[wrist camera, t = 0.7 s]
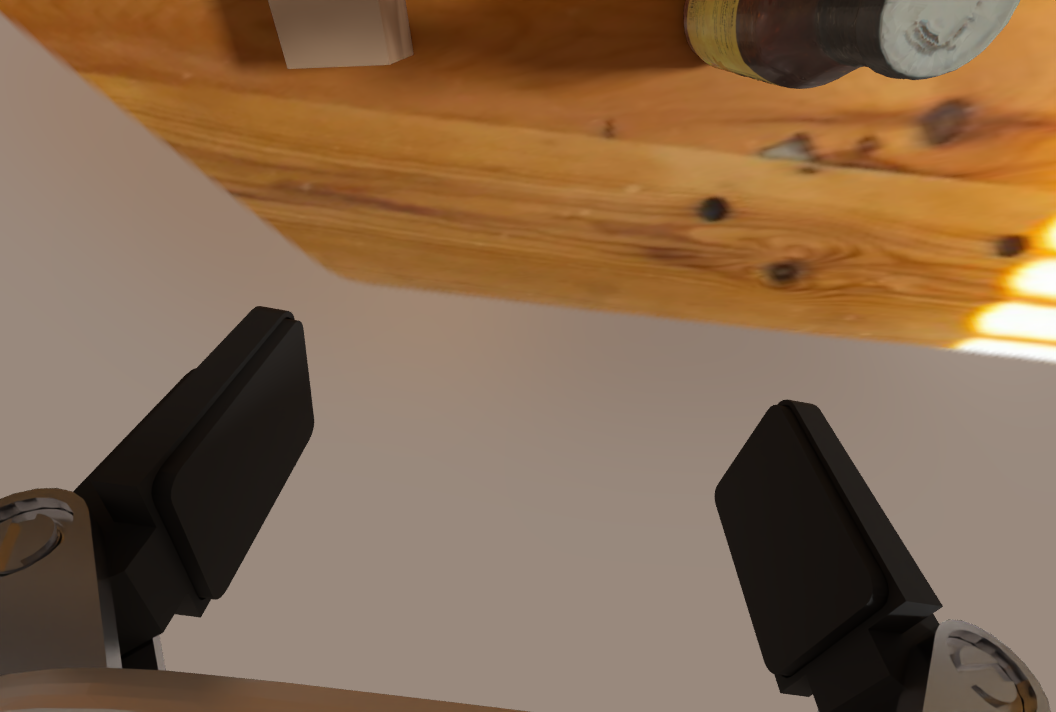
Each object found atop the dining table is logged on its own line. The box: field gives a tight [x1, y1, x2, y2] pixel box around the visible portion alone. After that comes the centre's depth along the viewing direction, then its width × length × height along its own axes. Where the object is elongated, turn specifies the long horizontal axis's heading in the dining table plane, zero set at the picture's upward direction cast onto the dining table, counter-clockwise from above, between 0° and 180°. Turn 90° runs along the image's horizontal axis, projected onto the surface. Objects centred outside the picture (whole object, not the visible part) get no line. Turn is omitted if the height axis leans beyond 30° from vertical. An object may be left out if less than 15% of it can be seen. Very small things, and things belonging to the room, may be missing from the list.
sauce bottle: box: [684, 0, 1020, 89], centre depth 22 cm, size 6×6×20 cm
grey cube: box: [268, 0, 414, 69], centre depth 28 cm, size 6×6×6 cm
